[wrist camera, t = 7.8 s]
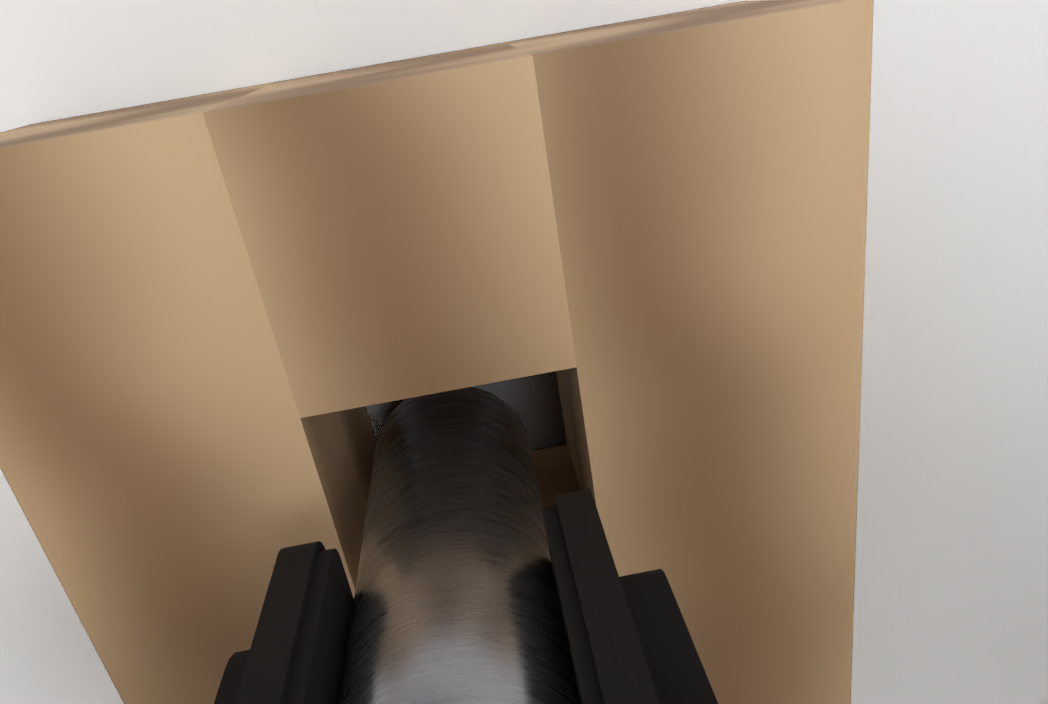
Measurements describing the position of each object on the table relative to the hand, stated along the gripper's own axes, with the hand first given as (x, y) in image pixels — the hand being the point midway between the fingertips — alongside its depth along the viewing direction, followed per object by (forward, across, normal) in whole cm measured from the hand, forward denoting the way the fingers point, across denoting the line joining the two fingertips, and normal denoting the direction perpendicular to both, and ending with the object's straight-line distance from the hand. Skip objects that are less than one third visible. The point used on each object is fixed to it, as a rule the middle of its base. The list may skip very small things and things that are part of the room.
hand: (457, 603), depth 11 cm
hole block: (+7, 0, 0) cm, 7 cm away
